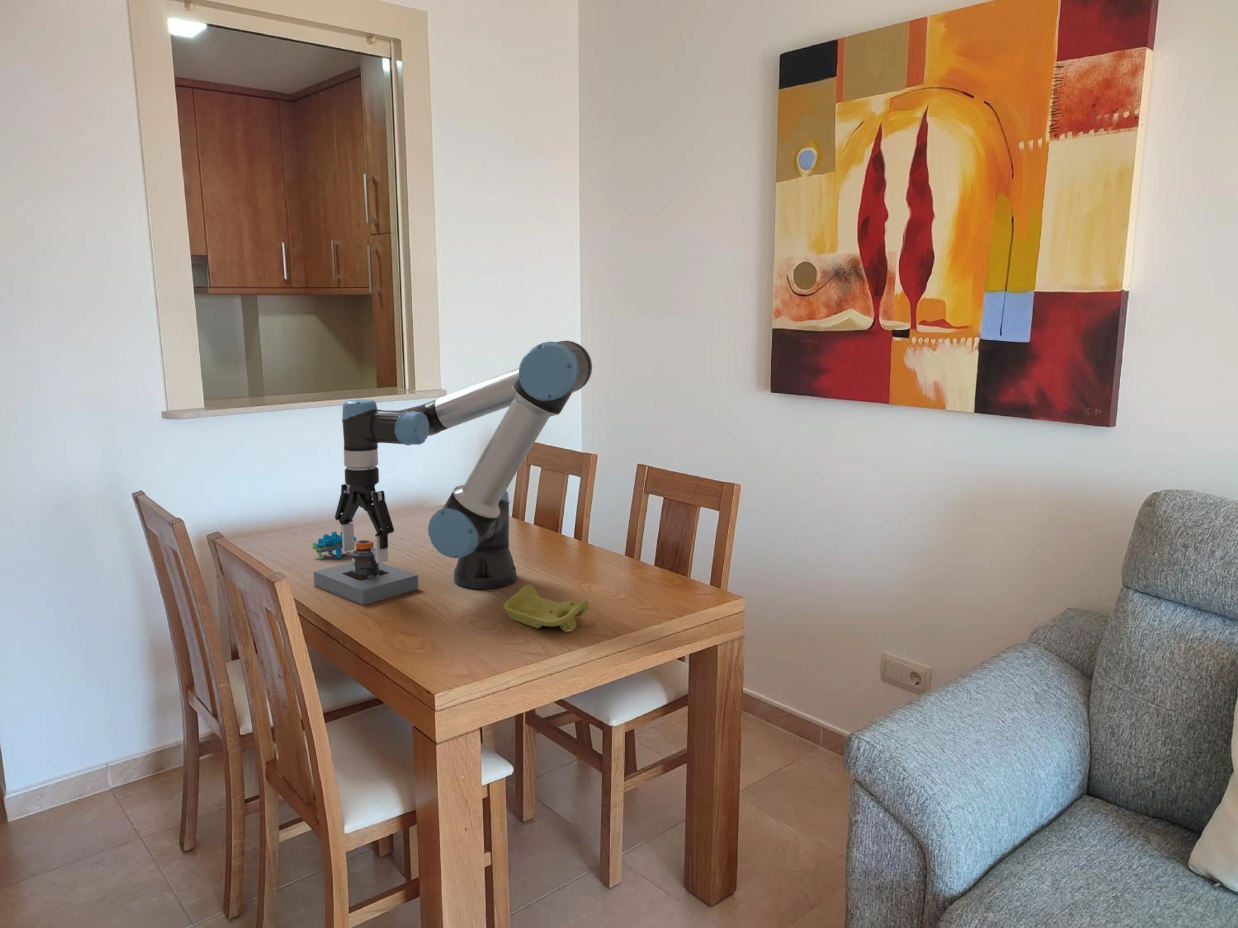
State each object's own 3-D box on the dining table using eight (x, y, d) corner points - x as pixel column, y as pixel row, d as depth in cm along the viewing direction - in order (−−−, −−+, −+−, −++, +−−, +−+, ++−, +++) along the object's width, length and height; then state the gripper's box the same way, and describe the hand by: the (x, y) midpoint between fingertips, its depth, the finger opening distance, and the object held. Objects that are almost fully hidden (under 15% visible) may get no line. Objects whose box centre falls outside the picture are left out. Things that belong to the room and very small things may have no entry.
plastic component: (499, 607, 187) (532, 579, 192) (513, 633, 190) (545, 605, 195) (557, 626, 172) (590, 595, 178) (571, 654, 175) (603, 622, 181)
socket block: (418, 589, 205) (417, 574, 204) (363, 605, 193) (362, 590, 193) (368, 571, 217) (368, 558, 217) (314, 585, 206) (313, 571, 205)
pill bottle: (385, 585, 206) (383, 539, 204) (367, 593, 201) (365, 546, 199) (365, 582, 209) (363, 536, 207) (348, 589, 204) (345, 542, 202)
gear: (358, 544, 236) (352, 525, 227) (360, 563, 233) (355, 545, 224) (315, 552, 233) (308, 534, 225) (317, 571, 230) (311, 553, 222)
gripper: (408, 472, 195) (410, 563, 199) (345, 458, 211) (348, 542, 215) (379, 476, 189) (382, 570, 193) (317, 462, 205) (321, 549, 209)
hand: (364, 556), depth 204 cm, fingers open, 13 cm apart
